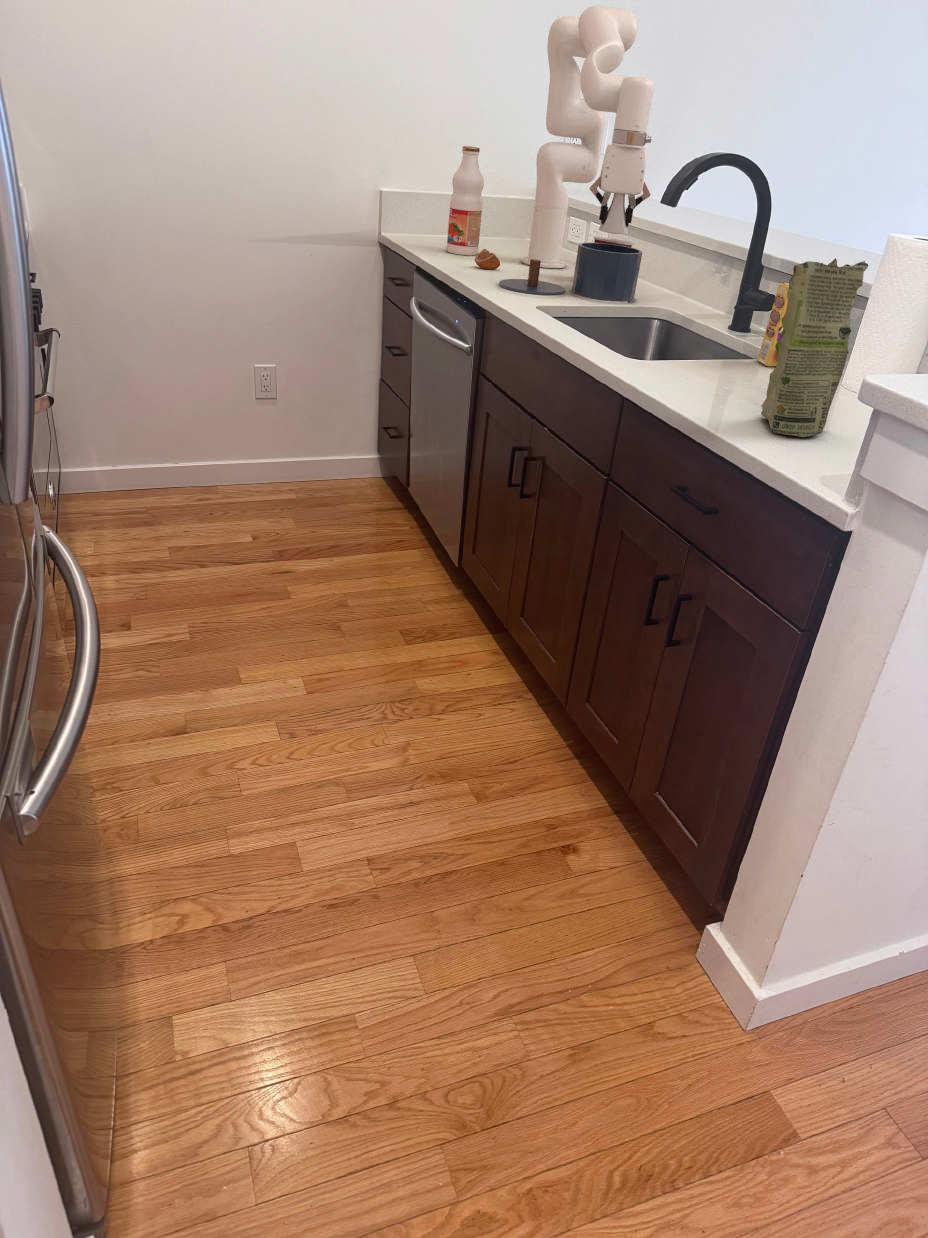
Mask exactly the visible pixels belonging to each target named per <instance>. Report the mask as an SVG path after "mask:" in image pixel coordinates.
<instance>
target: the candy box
mask: <svg viewBox="0 0 928 1238" xmlns="http://www.w3.org/2000/svg"><path fill="white" fill-rule="evenodd" d="M788 289H789V282H785V281H784V282H783V281H780V282H778V286H777V290H776V294H775V297H774V301H773V304H772V308H771V312H770V315H769V318H768V321H767V324H766V329H765V332H764V336H763V339H762V342H761V346H760V350H759V353H758V357H757V362H759V363H760V364H762V365H764V366H765V367H776V366H777V358H778V355H777V351H776V343H777V342H779V340H780V339H781V334H782V332H783V324H782V318H783V317H784V315H785V313H786V309H787V304H788V298H787V293H788Z"/></svg>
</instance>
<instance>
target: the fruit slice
mask: <svg viewBox="0 0 928 1238" xmlns="http://www.w3.org/2000/svg"><path fill="white" fill-rule="evenodd" d="M474 263H475V264H476V265H477V266H478V267H479V268H480V269H482V270H489V271H490V270H491V271H493V270H497V269H498V268H500V266H501V260H500V259H499V258H498V256H497V255H496V254H495V253H494V252H490V250H487V249H486V248H483V249H482V250H481V251H480V252H478V253H477V254H476V255H475V257H474Z"/></svg>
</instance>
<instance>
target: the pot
mask: <svg viewBox="0 0 928 1238" xmlns="http://www.w3.org/2000/svg"><path fill="white" fill-rule="evenodd" d="M576 253H577V254H576V260H575V266H574V272H573V273H574V274H573V280H572V286H571V293H572V294H574V295H577V296H579V297H583V298H588V299H592V300H597V301H603V302H620V303H621V302H623V303H625V302H627V303H628V304H631V303H633V302H634V300H635V295H636V289H637V286H638V285H637V284H638V280H639V279H638V278H639V273H640V267H641V262H642V257H643V250H641V249H638V248H635V247H627V246H621V245H615V244H606V243H595V242H590V241H589V242H580V243H579V244H578V247H577V252H576Z"/></svg>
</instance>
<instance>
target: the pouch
mask: <svg viewBox="0 0 928 1238" xmlns="http://www.w3.org/2000/svg"><path fill="white" fill-rule="evenodd" d="M868 268H869V263H866V261H865V260H863V261H859V262H857V263H855V264H853V265H851V264H844V265H842V266H838V260H837V258H836V257H834V258H833V260H832V261H830V262H829V263H828V264H824V263H823V262H820V261H819V262H818V261H810V260H809V261H805V262H802V263H799V264H794V265H793V269H792V270H793V271H792V276H791V277H790V279H789V280H788V283H789V289H788V293H787V298H788V304H787V309H786V313H785V315H784V317H783V318H782V324H783V332H782V334H781V339H780V340H779V342H777V343H776V351H777V355H778V358H777V366H775V368H774V369H773V370H772V372H771V373H770V374H769V379H768V380H769V381H768V382H769V383H768V384H767V389H766V398H765V400H764V401H763V402H762V404H761V410H762V411H761V412H760V416H761V417H764V418H765V419H767V421H768V424H769V428H770V430H771V431H772V432H773V433H775V434H781V435H787V436H792V437H793V436H794V437H799V438H807V437H813V436H816V435H819V434H821V433H823V432H824V429H825V427H826V424H827V422H828V421H827V420H828V416H829V413H830V409H831V407H832V403H833V400H834V398H835V395H836V392H837V390H838V388H839V384H840V382H841V379H842V377H843V373H844V372H843V371H844V370H845V367H846V362H847V358H848V354H849V339H850V335H851V332H852V329H851V323H850V318H851V312H852V310H853V308H854V305H855V301H856V298H857V293H858V292H857V291H858V290H859V289H860V288H861V287H863V283H864V274H865V271H866V270H867V269H868Z"/></svg>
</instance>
